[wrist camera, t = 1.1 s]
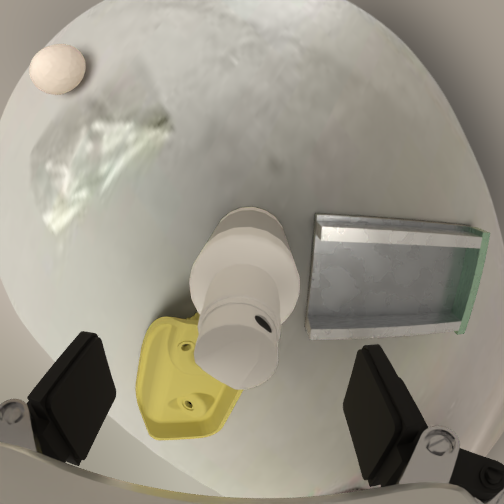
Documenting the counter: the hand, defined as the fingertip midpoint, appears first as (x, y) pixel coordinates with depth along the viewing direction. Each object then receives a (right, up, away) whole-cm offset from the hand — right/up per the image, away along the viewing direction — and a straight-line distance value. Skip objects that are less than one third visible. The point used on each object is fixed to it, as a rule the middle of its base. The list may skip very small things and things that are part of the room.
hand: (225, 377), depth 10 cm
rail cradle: (+16, +2, +19) cm, 25 cm away
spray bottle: (+1, +5, +19) cm, 20 cm away
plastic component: (-6, -9, +24) cm, 26 cm away
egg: (-18, +23, +14) cm, 32 cm away
